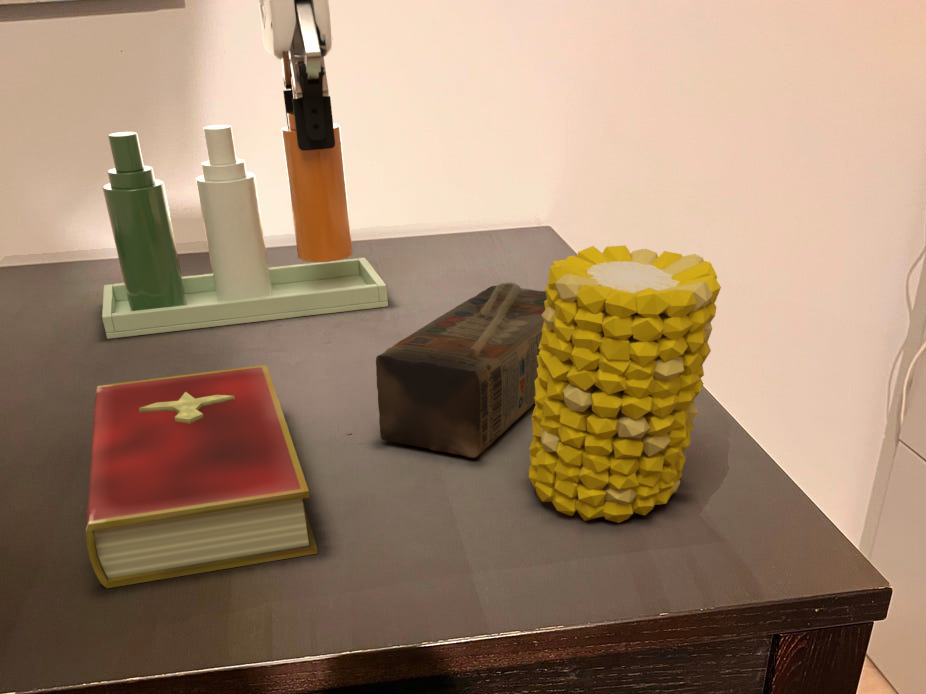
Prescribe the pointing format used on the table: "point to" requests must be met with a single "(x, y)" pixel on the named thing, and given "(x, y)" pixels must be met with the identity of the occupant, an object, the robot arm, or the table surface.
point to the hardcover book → (192, 478)
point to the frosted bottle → (232, 220)
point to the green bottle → (142, 229)
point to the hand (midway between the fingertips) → (311, 141)
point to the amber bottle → (317, 197)
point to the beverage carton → (463, 373)
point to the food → (619, 378)
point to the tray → (252, 299)
